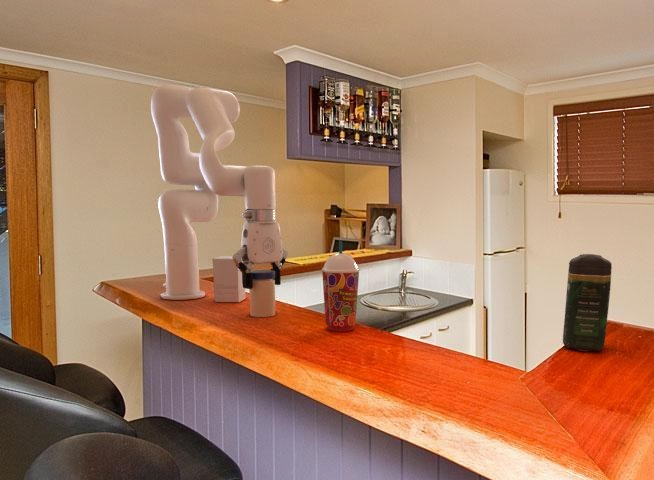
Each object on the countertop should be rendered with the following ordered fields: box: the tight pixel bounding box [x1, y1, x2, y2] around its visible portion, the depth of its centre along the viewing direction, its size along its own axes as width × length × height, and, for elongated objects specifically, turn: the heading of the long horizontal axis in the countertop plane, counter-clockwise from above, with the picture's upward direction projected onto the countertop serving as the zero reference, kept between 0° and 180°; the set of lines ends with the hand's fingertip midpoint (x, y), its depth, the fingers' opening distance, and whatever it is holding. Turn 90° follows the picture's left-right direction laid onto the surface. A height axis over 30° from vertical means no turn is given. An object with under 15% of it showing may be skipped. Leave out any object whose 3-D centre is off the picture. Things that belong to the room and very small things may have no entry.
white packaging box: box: [211, 255, 247, 303], centre depth 161 cm, size 7×7×13 cm
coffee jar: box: [562, 253, 613, 352], centre depth 111 cm, size 10×8×19 cm
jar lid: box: [250, 269, 275, 280], centre depth 141 cm, size 7×7×2 cm
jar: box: [248, 279, 277, 318], centre depth 141 cm, size 6×6×10 cm
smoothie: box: [321, 240, 360, 333], centre depth 125 cm, size 8×8×20 cm
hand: (261, 286), depth 141 cm, fingers open, 8 cm apart
